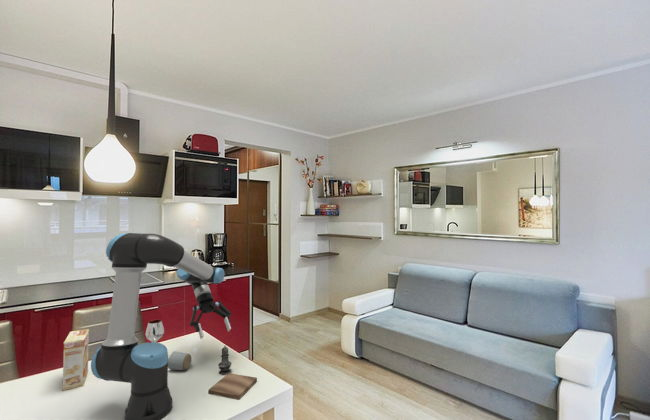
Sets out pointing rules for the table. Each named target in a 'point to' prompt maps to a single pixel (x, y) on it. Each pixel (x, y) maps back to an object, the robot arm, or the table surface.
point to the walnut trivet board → (233, 386)
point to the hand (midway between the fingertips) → (216, 333)
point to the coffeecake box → (75, 359)
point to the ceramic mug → (179, 361)
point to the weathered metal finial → (224, 362)
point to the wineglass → (154, 330)
